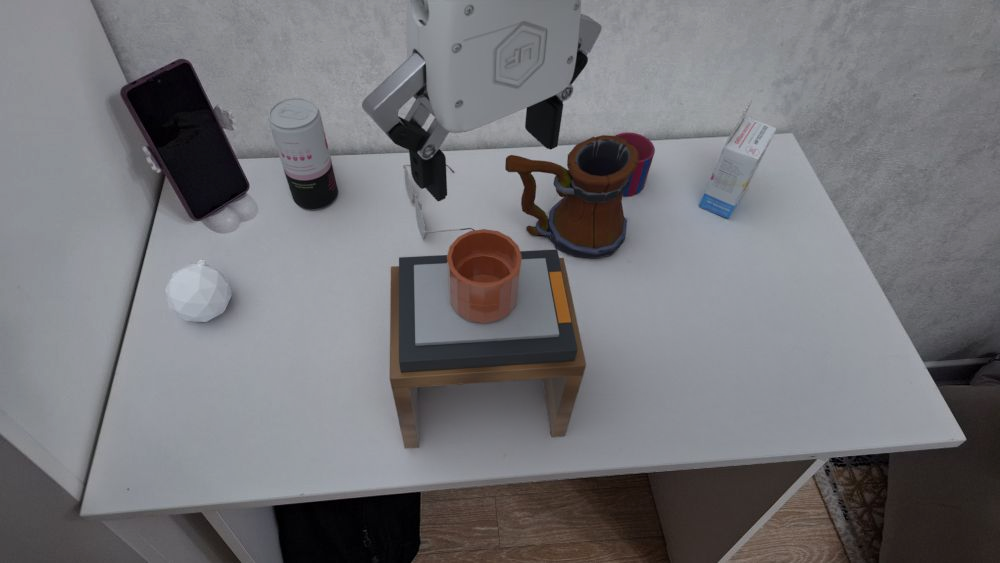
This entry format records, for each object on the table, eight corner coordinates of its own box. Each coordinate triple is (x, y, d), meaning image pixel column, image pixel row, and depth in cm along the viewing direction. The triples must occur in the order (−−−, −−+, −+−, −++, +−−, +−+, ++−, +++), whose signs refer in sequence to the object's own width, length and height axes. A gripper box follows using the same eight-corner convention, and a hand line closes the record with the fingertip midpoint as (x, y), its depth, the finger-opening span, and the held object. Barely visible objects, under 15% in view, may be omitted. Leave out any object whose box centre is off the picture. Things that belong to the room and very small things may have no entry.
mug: (504, 266, 84) (510, 186, 72) (497, 205, 91) (501, 123, 79) (633, 260, 86) (659, 181, 74) (616, 201, 93) (638, 120, 81)
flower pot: (530, 304, 58) (536, 264, 53) (474, 337, 55) (474, 298, 51) (491, 261, 61) (493, 219, 56) (436, 290, 58) (433, 249, 54)
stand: (548, 338, 77) (563, 257, 65) (565, 436, 70) (586, 365, 57) (404, 347, 76) (390, 266, 63) (404, 448, 68) (389, 378, 55)
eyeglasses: (402, 180, 94) (402, 159, 91) (453, 173, 96) (455, 153, 93) (424, 247, 86) (424, 227, 83) (479, 238, 88) (481, 219, 85)
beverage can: (303, 177, 93) (279, 92, 81) (345, 184, 93) (326, 100, 81) (286, 207, 89) (257, 123, 77) (329, 215, 89) (307, 132, 77)
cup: (648, 196, 94) (659, 162, 88) (583, 197, 93) (590, 163, 88) (639, 166, 98) (649, 131, 92) (577, 167, 97) (583, 132, 92)
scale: (555, 261, 64) (557, 245, 62) (574, 361, 57) (578, 347, 55) (400, 269, 63) (398, 253, 61) (400, 373, 56) (398, 359, 54)
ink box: (729, 221, 91) (767, 142, 79) (697, 207, 93) (730, 128, 81) (748, 188, 96) (787, 109, 84) (717, 175, 97) (751, 96, 85)
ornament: (165, 307, 78) (170, 247, 76) (229, 311, 81) (235, 254, 79) (159, 330, 72) (164, 265, 70) (228, 334, 75) (235, 272, 73)
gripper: (380, -19, 26) (411, 245, 40) (670, -104, 33) (611, 148, 46) (304, -86, 30) (356, 178, 43) (578, -150, 36) (549, 96, 50)
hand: (488, 162), depth 45 cm, fingers open, 9 cm apart
